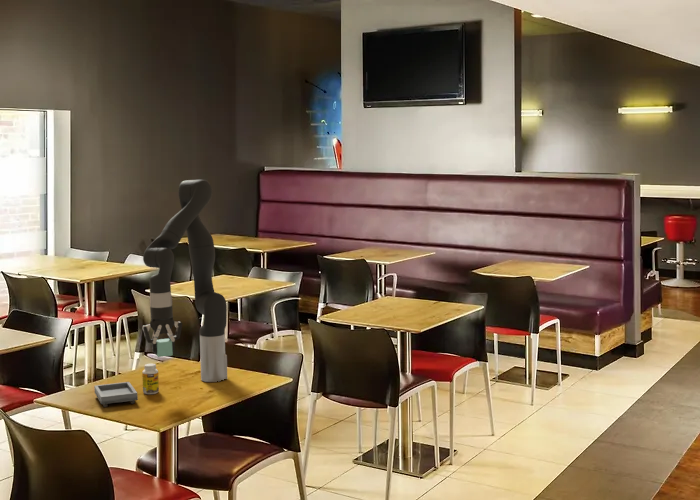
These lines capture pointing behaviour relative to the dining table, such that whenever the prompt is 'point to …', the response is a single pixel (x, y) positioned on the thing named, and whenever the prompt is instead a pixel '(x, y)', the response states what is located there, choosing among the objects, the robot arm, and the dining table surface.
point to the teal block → (164, 347)
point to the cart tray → (115, 393)
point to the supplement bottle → (150, 379)
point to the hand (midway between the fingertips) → (163, 352)
